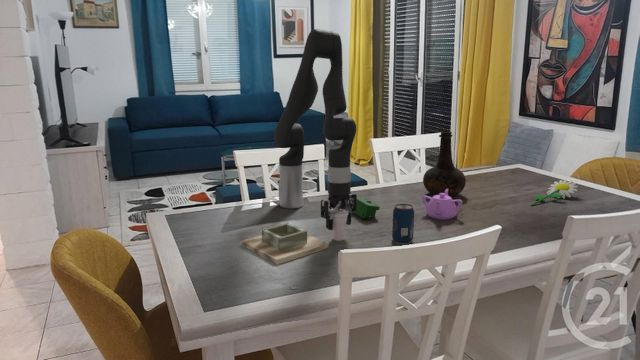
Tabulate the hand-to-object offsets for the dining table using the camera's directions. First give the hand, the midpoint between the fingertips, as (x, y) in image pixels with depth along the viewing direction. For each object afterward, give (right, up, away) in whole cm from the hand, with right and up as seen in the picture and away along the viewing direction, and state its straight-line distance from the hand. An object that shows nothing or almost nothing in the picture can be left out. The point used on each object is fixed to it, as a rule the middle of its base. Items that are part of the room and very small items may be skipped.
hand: (338, 226), depth 169 cm
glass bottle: (+47, +9, +52) cm, 71 cm away
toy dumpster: (+11, +2, +25) cm, 28 cm away
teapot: (+40, +2, +24) cm, 47 cm away
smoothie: (0, -4, +1) cm, 4 cm away
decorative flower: (+91, +7, +45) cm, 102 cm away
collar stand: (-18, -6, -6) cm, 19 cm away
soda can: (+21, -5, -1) cm, 22 cm away
